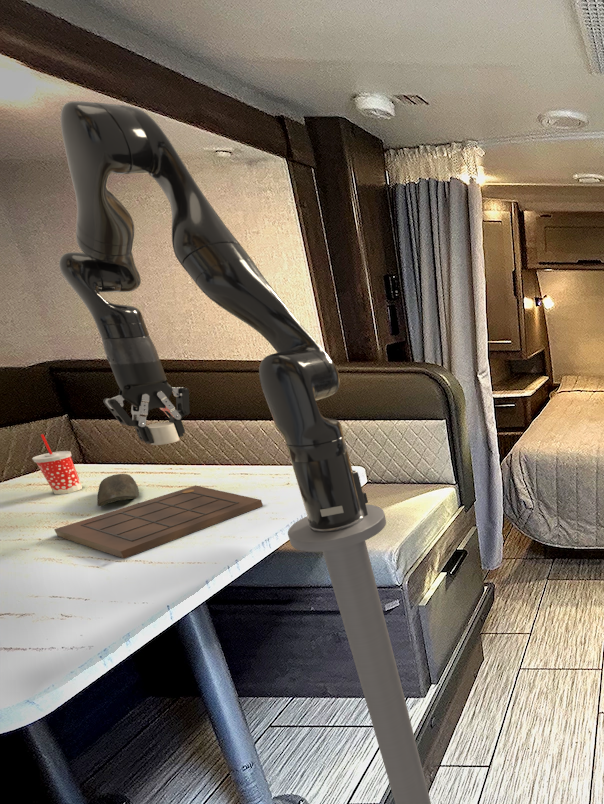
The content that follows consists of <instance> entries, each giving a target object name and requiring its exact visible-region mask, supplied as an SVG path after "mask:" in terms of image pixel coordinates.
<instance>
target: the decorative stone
mask: <svg viewBox="0 0 604 804" xmlns="http://www.w3.org/2000/svg"><path fill="white" fill-rule="evenodd" d="M96 495H97V498H96V500H97V501H96V502H97V506H98V507H102V506H106V505H108V504H109V505H110V504H112V503H114V502H119V501H124V500H134V499H138V498H139V496H140V489H139V486H138V484H137V482H136V480H135V479H134V478H133V477H132V476H131V475H130V474H128V473H117V474H113V475H110V476H109V475H108V476H106V477H105V478H103V479H102V480H101V481H100V483H99V486H98V490H97V494H96Z"/></svg>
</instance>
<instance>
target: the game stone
mask: <svg viewBox="0 0 604 804" xmlns="http://www.w3.org/2000/svg"><path fill="white" fill-rule="evenodd" d="M146 426H148V428H149V431H150V433H151V436H152V438H153V441H154V443H151V444H150V445H151V446H162V445H163V446H164V445H170V444H173V443H176V442H179V441H180V440H181V439H180V437H179V436H178V433H177V430H176V428H175V425H174V423H173V422H169V421H162V422H155V423H151V424H146Z"/></svg>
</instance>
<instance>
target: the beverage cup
mask: <svg viewBox="0 0 604 804" xmlns="http://www.w3.org/2000/svg"><path fill="white" fill-rule="evenodd" d="M39 435H40V438H41V439H42V442H43V443H44V446H45V448H46V450H47V452H48V453H42V454H39V455H35V456H33V457H32V458H31V459H32V461H33V462H34V463H36V465H37V467H38V468H39V471H40V472H41V474H42V475H43V477H44V479H45V480H46V482H47V484H48V485H49V488H51V490H52V492H53V493H54V494H55V495H64V494H69V493H74V492H77V491H80V490H82V488H83V485H82V483H81V480H80V478H79V475H78V472H77V470H76V467H75V464H74V462H73V458H72V452H71V451H70V450H61V451H60V450H59V451H52V450H51V447H50V445H49V443H48V441H47V439H46V437H45V434H44V433H41V434H39Z"/></svg>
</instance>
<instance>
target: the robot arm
mask: <svg viewBox="0 0 604 804" xmlns="http://www.w3.org/2000/svg"><path fill="white" fill-rule="evenodd" d="M60 130H61V136H62V142H63V146H64V150H65V155H66V160H67V166H68V170H69V174H70V178H71V183H72V186H73V190H74V195H75V201H76V226H75V228H76V229H75V240H76V241H75V242H76V244H77V246H78V248H79V249H80V250H81V252H80V251H78V252H75V251H72V252H65V253H63V254H62V255H61V257H59V261H58V267H59V270H60V274H61V275H62V277H63V278H64V279H65V281H66V282H67V284H68V285H69V286H70V287H71V288H72V290H73V291H74V292H75V294H77V296H78V297H79V299H80V300H81V302H82V303H83V304H84V306H85V308H86V309H87V310H88V312H89V313H90V315H91V317H92V319H93V321H94V323H95V327H96V328H97V331H98V334H99V336H100V338H101V341H102V346H103V350H104V353H105V355H106V361H108V363H109V366H110V368H111V371H112V373H113V376H114V379H115V382H116V384H117V386H118V387H119V392H118V395H115V396H113V397H111V398H108V397H105V398H104V399H103V400H102V401H103V402H102V403H103V404H104V406H106V407H107V409H108V410H109V411H110V412H111V414H112V415H113V416H114V417H115V419H116V421H118V423H119V424H120V425H122V426H126V427H133V428H134V429H135V431H136V434H137V436H138V439H139V440H140V442H144V444H146V445H147V444H148V445H151V443H154V441H153V438H152V436H151V433H150V431H149V428H148V426H147V417H148V415H149V411H151V410H153V409H159V410H161V411H162V412H163V413H164V414H165V415H166V416H167V417H168V422H173V423H174V425H175V428H176V430H177V433H178V436H179V438H181V437H184V434H185V433H186V430H185V427H184V424H183V421H182V418H183V417H186V416H188V415H190V414H191V409H190V390H189V388H188V387H184V386H177V387H173V386H171V385H170V384H169V383H168V379H167V375H166V373H165V371H164V367H163V364H162V361H161V359H160V357H159V354H158V353H159V352H158V350H157V348H156V346H155V343H154V342H153V340H152V338H151V336H150V334H149V330H148V327H147V325H146V323H145V319H144V317H143V314H142V312H141V310H140V309H139V308H138V307H136V306H132V305H126V304H119V303H118V304H117V303H113V302H110V301H108V300H106V298H104V296H102V295H101V293H129V292H133V291H135V290H137V289H139V287H140V286H141V284H142V279H141V274H140V272H139V270H138V268H137V265H136V263H135V259H134V254H133V247H134V240H135V234H136V229H135V223H134V220H133V218H132V216H131V213H130V212H129V211H128V209H127V208H126V206H125V205H124V204H123V203H122V202H121V200H119V199H118V198H117V196H115V194H114V193H113V192H112V191H111V190H110V188H109V187H108V181H109V178H110V176H111V175H112V174H113V175H148V176H149V177H151V178H152V179H153V180H154V181H155V182H156V183H157V185H158V186H159V187H160V188H161V190H162V192H163V193H164V195H165V196H166V198H167V200H168V202H169V205H170V211H171V243H172V249H173V253H174V256H175V258H176V259H177V261H178V262H179V264H180V265H181V267H182V268H183V269H184V270H185V272H186V273H187V274H188V275H189V277H190V278H191V279H192V281H193V282H194V283H195V284H196V286H197V287H198V289H200V291H201V292H202V293H203V294H204V295H205V296H206V297H207V298H209V300H210V301H212V302H214V303H215V304H216V305H217V306H219V307H221V309H223V310H224V311H226V312H228V313H229V314H231V315H232V316H233V317H235V318H237V319H238V320H240V321H241V322H242V323H245V324H246V325H247V326H248V327H250V328H252V329H254V330H255V331H256V332H257V333H259V334H260V336H262V338H264V339H265V340H266V341H267V342H268V343H269V344H270V345H271V347H272V348H273V349H274V350H275V351H276V352H275V353H271V354H268V355H266V356H265V357H264V358H263V359H262V360H261V362H260V363H259V367H258V377H259V384H260V387H261V389H262V393H263V396H264V398H265V401H266V403H267V407H268V409H269V412H270V415H271V417H272V420H273V423H274V425H275V427H276V428H277V430H278V431H279V432H280V434H281V435H282V436H283V439H284V442H285V445H286V448H287V452H288V455H289V459H290V463H291V467H292V469H293V473H294V477H295V479H296V483H297V486H298V490H299V493H300V496H301V501H302V503H303V507H304V511H305V514H306V516H307V517H308V521H309V526H310V529H311V530H312V531H315V532H333V531H338V530H342V529H346V528H349V527H351V526H354V525H356V524H357V523H359V522H360V521H362V520H363V518H364V517H365V516H367V515H368V512H367V508H366V504H368V503H369V500H368V496H367V493H366V492H364V491H363V487H362V484H361V483H362V482H361V479H360V476H359V472H358V471H357V470H353V466H352V462H351V459H350V455H349V451H348V448H347V443H346V439H345V436H344V430H343V427H342V424H341V421H339V420H338V419H336V418H331V417H325V416H324V415H322V413H321V411H320V408H319V406H318V403H317V401H319V400H323V399H326V398H328V397H330V396H333V395H334V394H336V393H337V392H338V390H339V388H340V384H341V379H340V374H339V373H340V372H339V370H338V368H337V366H336V364H335V363H334V361H333V359H332V358H331V357H330V355H329V354H328V353H327V352H326V351H325V350H324V348H323V347H322V346H321V345H320V344H319V343H318V342H317V340H316V339H315V338H314V337H313V335H311V334H310V332H308V330H307V329H306V328H305V327H304V326H303V325H302V323H300V321H298V319H297V318H296V316H295V315H294V314H293V313H292V312H291V310H289V308H288V307H287V305H286V304H285V303H284V301H283V300H282V299H281V297H280V296H279V294H277V292H276V291H275V290H274V289H273V287H272V286H271V285H270V283H269V282H268V281H267V279H266V278H265V277H264V275H263V273H262V272H261V271H260V270H259V268H258V266H257V265H256V263H255V262H254V261H253V259H252V258H251V257H250V255H249V254H248V253H247V251H246V250H245V248H244V247H243V246H242V244H241V243H240V242H239V240H237V238H236V237H235V235H234V234H233V233H232V232H231V230H230V229H229V227H228V226H226V224H225V223H224V221H223V220H222V219H221V217H220V216H219V215H218V213H217V212H216V210H215V209H214V207H213V206H212V205H211V204H210V202H209V200H208V199H207V198H206V196H205V195H204V193H203V192H202V190H201V189H200V187H199V186H198V184H197V183H196V181H195V179H194V178H193V176H192V174H191V173H190V171H189V169H188V168H187V166H186V164H185V163H184V162H183V160H182V159H181V156H180V155H179V153H178V152H177V150H176V148H175V147H174V145H173V144H172V142H171V141H170V139H169V138H168V136H167V134H166V133H165V132H164V131H163V129H162V128H161V126H160V125H159V124H158V123H157V122H156V121H155V119H153V117H151V115H149V114H148V113H146V112H145V111H144V110H142V109H140V108H138V107H135V106H130V105H123V104H114V103H104V102H93V101H85V100H81V101H80V100H75V101H74V100H73V101H68V102H66V103H64V104H63V106H62V108H61V111H60ZM172 394H173V396H174V398H175V404H176V407H175V405H174V404H173V403H172V402H171V400H170V399H171V396H172ZM124 402H126V403H127V404H130V405H131V406H130V407H131V409H130V413H131V415H132V417H131V416H130V415H129V414H128V413H127V411H126V410H125V409H124V408H123V407H124V405H125V404H124Z"/></svg>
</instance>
